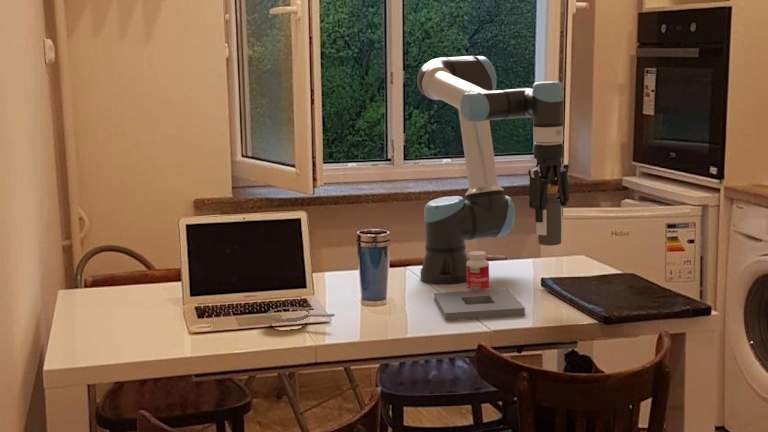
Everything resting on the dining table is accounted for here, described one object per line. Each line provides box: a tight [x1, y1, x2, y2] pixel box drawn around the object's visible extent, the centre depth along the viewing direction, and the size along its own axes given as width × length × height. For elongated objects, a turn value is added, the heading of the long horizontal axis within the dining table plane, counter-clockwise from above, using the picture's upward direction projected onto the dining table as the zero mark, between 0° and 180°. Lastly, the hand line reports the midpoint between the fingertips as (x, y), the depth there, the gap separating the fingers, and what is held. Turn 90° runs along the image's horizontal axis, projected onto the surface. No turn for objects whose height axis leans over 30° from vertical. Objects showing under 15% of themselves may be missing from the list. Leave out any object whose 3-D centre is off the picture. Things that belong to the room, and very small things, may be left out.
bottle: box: [537, 184, 562, 247], centre depth 255 cm, size 6×6×15 cm
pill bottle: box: [466, 250, 490, 291], centre depth 272 cm, size 6×6×11 cm
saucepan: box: [266, 306, 336, 323], centre depth 247 cm, size 11×18×4 cm, turn 68°
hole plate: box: [433, 288, 526, 321], centre depth 257 cm, size 20×20×2 cm
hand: (549, 232), depth 256 cm, fingers closed on bottle, 6 cm apart
